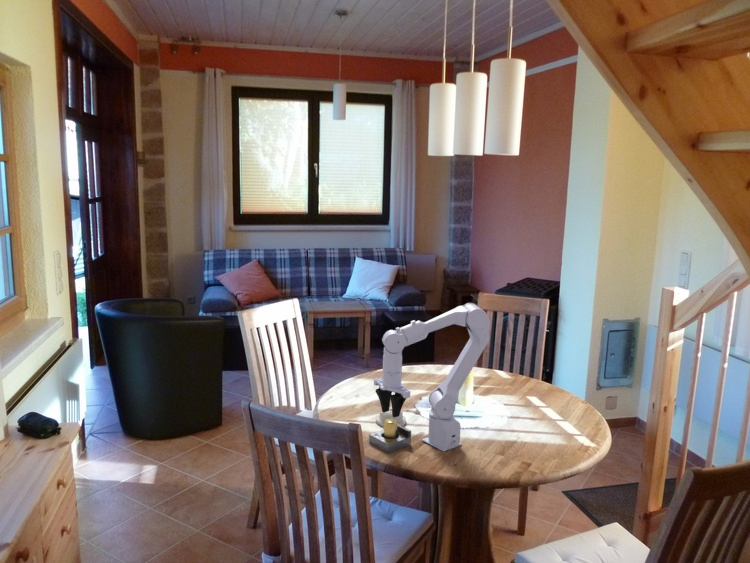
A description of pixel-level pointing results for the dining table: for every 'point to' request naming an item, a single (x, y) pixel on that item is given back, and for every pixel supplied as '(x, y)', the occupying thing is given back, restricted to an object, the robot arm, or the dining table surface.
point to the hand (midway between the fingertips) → (390, 414)
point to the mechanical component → (390, 417)
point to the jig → (391, 444)
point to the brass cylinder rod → (390, 429)
